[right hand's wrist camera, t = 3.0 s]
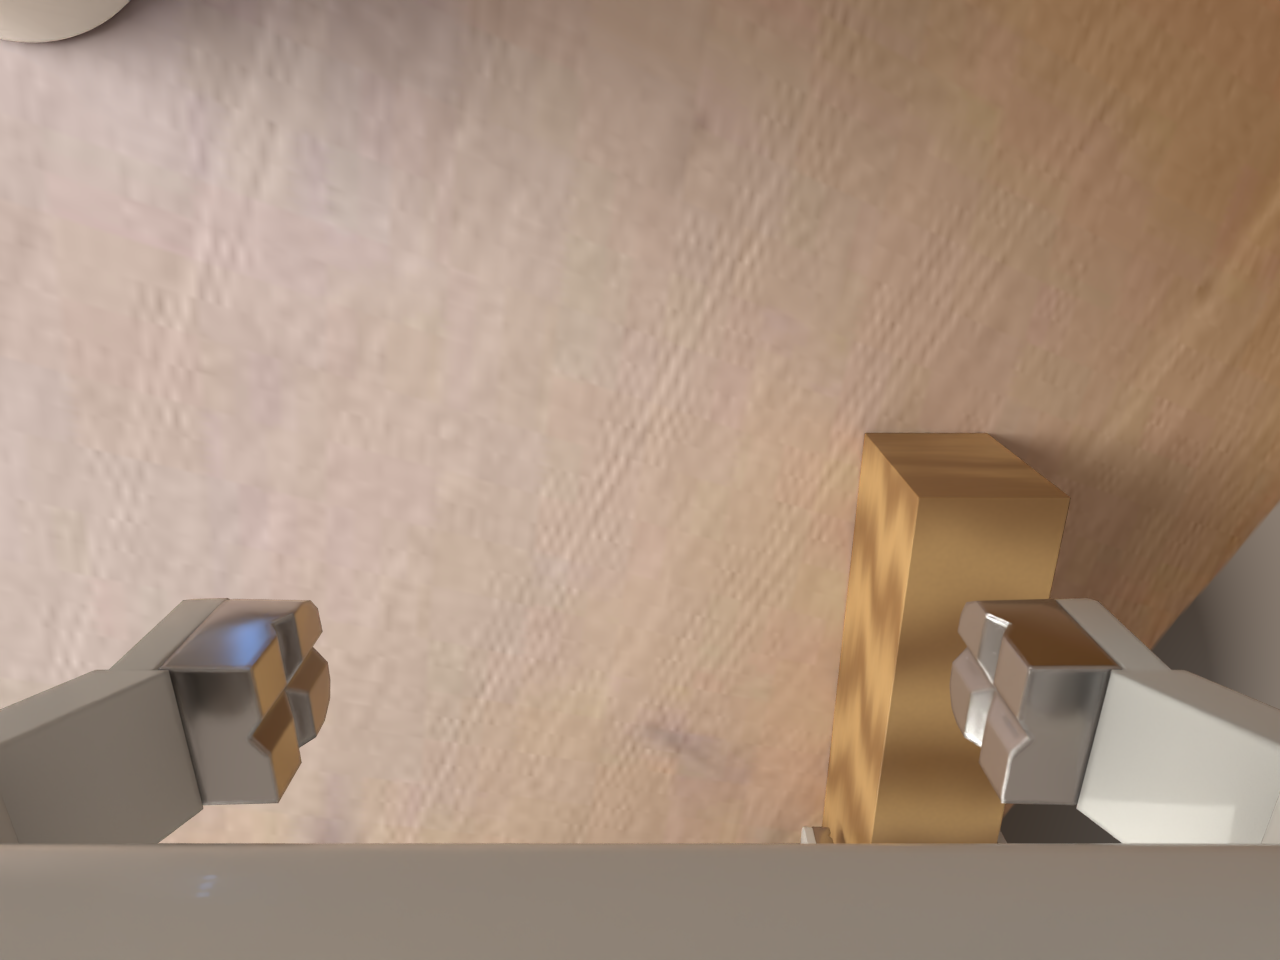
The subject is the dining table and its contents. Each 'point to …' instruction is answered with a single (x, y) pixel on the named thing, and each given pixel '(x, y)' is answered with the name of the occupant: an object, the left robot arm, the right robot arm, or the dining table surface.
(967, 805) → the box
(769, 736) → the dining table surface
